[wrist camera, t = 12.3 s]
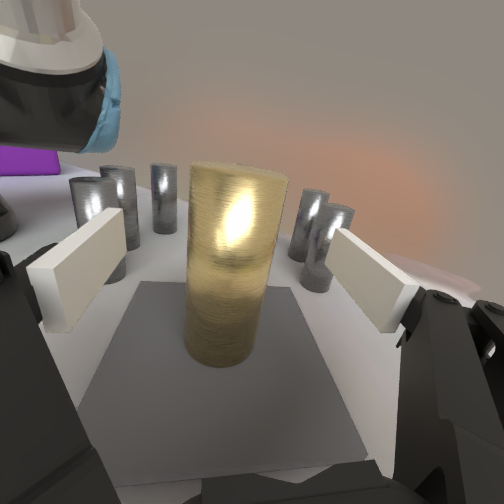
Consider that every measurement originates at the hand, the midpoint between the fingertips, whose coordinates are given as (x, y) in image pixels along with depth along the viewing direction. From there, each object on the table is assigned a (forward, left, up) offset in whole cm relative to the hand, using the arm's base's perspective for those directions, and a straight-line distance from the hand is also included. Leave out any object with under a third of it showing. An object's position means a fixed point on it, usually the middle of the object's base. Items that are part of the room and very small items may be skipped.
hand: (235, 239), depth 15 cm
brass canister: (0, 0, -9) cm, 9 cm away
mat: (0, 0, -10) cm, 10 cm away
